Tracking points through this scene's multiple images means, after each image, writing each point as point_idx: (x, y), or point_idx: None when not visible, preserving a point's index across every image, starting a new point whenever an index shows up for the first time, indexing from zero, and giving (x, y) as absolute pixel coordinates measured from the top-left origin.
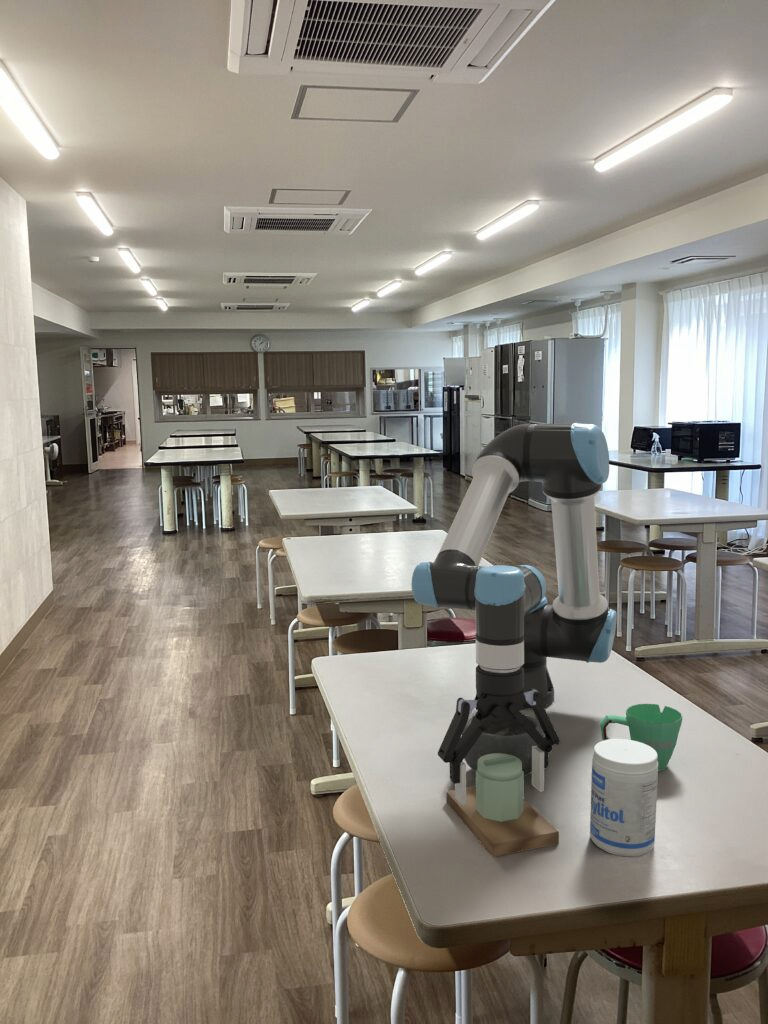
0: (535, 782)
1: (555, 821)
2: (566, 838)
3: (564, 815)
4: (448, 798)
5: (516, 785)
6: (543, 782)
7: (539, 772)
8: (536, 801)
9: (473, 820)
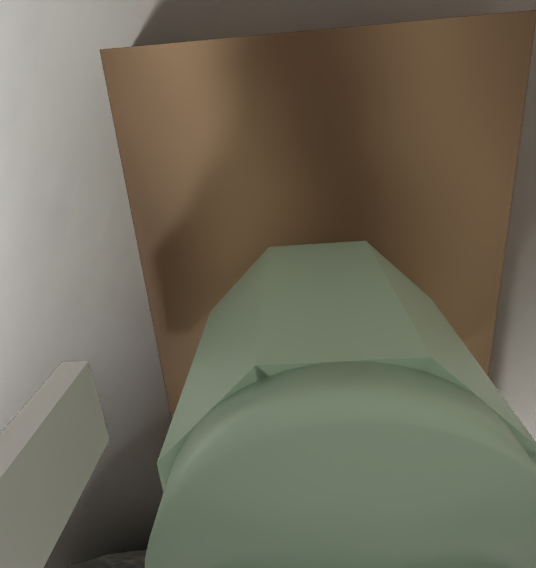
0: (88, 425)
1: (78, 257)
2: (71, 98)
3: (24, 292)
4: None
5: (272, 335)
6: (38, 393)
7: (28, 448)
8: (108, 417)
9: (493, 288)
